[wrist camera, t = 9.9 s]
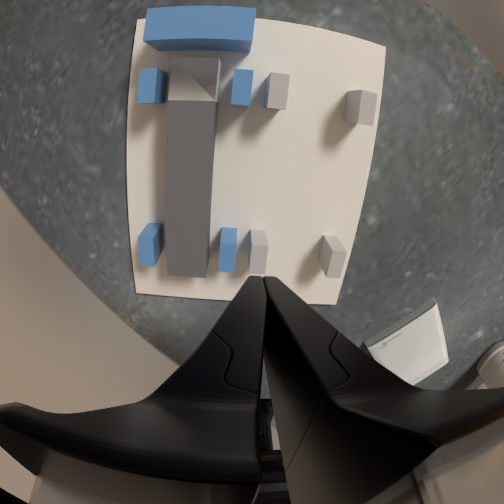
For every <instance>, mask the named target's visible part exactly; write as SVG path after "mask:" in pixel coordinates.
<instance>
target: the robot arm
mask: <svg viewBox="0 0 504 504" xmlns="http://www.w3.org/2000/svg"><path fill="white" fill-rule="evenodd" d="M263 357H264V362H265V368H266V373H267V378H268V384H269V389H270V395H271V399H260V393H261V381H262V368H263ZM273 414H274V416H275V422H276V427H277V432H278V437H279V442H280V448H281V450H273V443H272V434H271V424H270V423H271V420H272V417H273ZM0 446H1V447H2V448H3V449H4V450H5V451H7V452H8V453H9V454H10V455H11V456H12V457H13V458H14V459H16V460H17V461H18V462H19V463H20V464H21V465H23V466H24V467H25V468H26V469H28V470H29V471H30V472H31V473H33V474H34V475H35V476H36V479H35V483H34V486H33V490H32V493H31V497H30V501H29V504H504V387H500V388H493V389H478V390H425V389H421V388H418V387H415V386H413V385H411V384H409V383H408V382H406V381H404V380H403V379H401V378H400V377H399V376H397V375H396V374H394V373H393V372H391V371H390V370H389V369H387V368H386V367H384V366H383V365H381V364H380V363H378V362H377V361H376V360H374V359H373V358H371V357H370V356H369V355H367V354H366V353H365V352H363V351H362V350H361V349H359V348H358V347H357V346H356V345H354V344H353V343H352V342H351V341H350V340H348V339H347V338H346V337H345V336H344V335H343V334H342V333H340V332H339V331H338V330H337V329H336V328H334V327H333V326H332V325H331V324H330V323H329V322H328V321H326V320H325V319H324V318H323V317H322V316H321V315H320V314H318V313H317V312H316V311H315V310H314V309H313V308H312V307H310V306H309V305H308V304H307V303H306V302H305V301H304V300H302V299H301V298H300V297H299V296H298V295H297V294H296V293H294V292H293V291H292V290H291V289H290V288H289V287H288V286H286V285H285V284H284V283H283V282H282V281H281V280H280V279H278V278H277V277H275V276H264V277H263V278H262V276H252V275H250V276H249V277H248V278H247V279H246V281H245V282H244V284H243V285H242V286H241V288H240V289H239V291H238V292H237V294H236V295H235V296H234V298H233V299H232V301H231V302H230V303H229V305H228V306H227V308H226V309H225V311H224V312H223V313H222V315H221V316H220V318H219V319H218V320H217V322H216V323H215V325H214V326H213V328H212V329H211V330H210V332H209V333H208V334H207V336H206V337H205V339H204V340H203V341H202V343H201V344H200V345H199V346H198V348H197V349H196V350H195V351H194V352H193V353H192V355H191V356H190V357H189V358H188V359H187V360H186V361H185V362H184V363H183V364H182V365H181V366H180V367H179V368H178V369H177V370H176V371H175V372H174V373H173V374H172V375H171V376H170V377H169V378H168V379H167V380H166V381H165V382H164V383H163V384H162V385H161V386H160V387H159V388H158V389H157V390H155V391H154V392H153V393H152V394H151V395H150V396H148V397H147V398H145V399H143V400H141V401H139V402H136V403H132V404H127V405H122V406H117V407H111V408H106V409H100V410H94V411H87V412H80V413H71V414H59V413H58V414H57V413H50V412H45V411H42V410H39V409H36V408H33V407H30V406H28V405H25V404H22V403H17V402H13V403H7V404H2V405H0ZM0 504H28V503H26V502H24V501H23V500H21V499H19V498H17V497H15V496H14V495H12V494H10V493H8V492H7V491H5V490H3V489H2V488H0Z"/></svg>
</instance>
